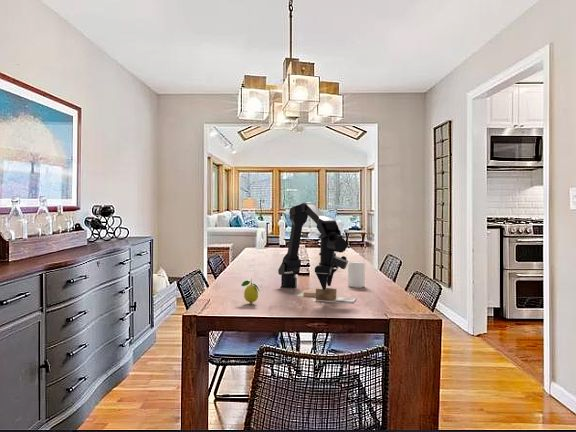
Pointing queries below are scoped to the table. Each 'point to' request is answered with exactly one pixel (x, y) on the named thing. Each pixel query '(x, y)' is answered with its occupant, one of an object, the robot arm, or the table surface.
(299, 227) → the robot arm
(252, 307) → the table surface
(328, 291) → the turner
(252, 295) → the lemon
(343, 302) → the tool pad
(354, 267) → the grey cylinder
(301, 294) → the felt mat
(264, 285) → the table surface
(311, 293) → the tile
